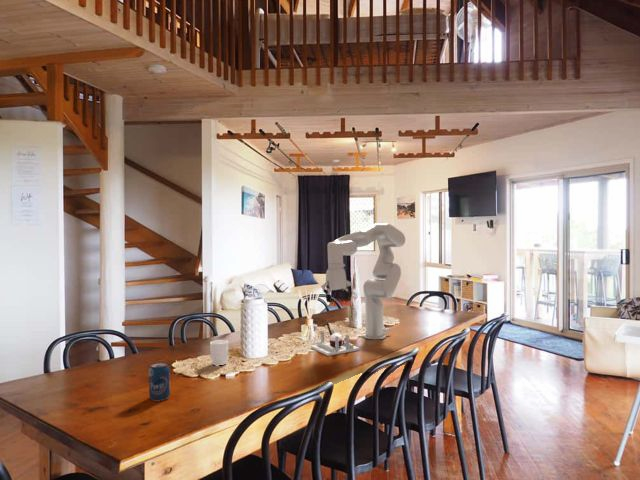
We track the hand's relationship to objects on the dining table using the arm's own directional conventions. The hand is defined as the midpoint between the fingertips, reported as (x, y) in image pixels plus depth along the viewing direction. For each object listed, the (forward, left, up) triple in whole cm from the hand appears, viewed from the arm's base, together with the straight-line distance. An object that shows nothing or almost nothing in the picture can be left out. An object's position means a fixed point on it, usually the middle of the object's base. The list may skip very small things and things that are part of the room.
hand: (337, 300), depth 219 cm
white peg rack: (+3, +2, -24) cm, 24 cm away
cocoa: (+2, +2, -23) cm, 23 cm away
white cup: (+59, -5, -24) cm, 64 cm away
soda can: (+89, +22, -24) cm, 94 cm away
